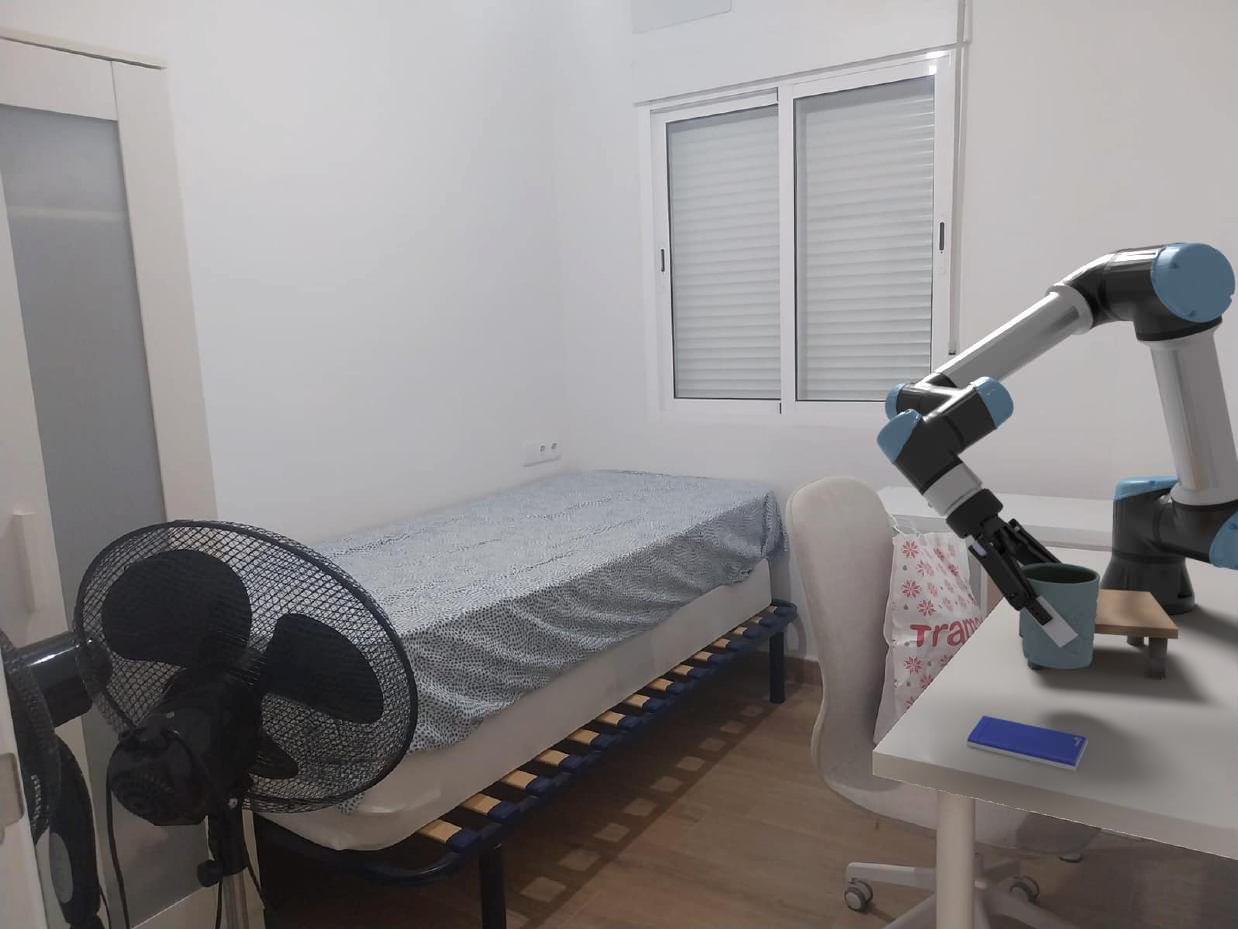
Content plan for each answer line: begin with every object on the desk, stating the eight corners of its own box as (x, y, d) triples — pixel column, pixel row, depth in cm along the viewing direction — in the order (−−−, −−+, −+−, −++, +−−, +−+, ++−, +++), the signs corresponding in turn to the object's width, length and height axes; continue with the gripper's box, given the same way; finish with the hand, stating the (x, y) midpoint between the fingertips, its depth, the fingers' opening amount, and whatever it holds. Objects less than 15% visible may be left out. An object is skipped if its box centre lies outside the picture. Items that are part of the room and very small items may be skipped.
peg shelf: (1146, 639, 147) (1149, 591, 146) (1175, 682, 130) (1178, 629, 129) (1012, 630, 154) (1014, 584, 152) (1023, 670, 137) (1025, 619, 135)
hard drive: (1088, 735, 113) (984, 714, 121) (1075, 762, 107) (966, 737, 114) (1087, 747, 114) (983, 725, 121) (1075, 775, 107) (966, 749, 114)
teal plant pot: (1106, 672, 118) (1110, 584, 116) (1023, 670, 121) (1026, 583, 119) (1083, 644, 128) (1087, 562, 126) (1007, 642, 130) (1009, 561, 128)
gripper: (974, 504, 140) (1082, 621, 132) (913, 535, 123) (1031, 671, 116) (1010, 473, 135) (1124, 592, 128) (952, 500, 119) (1078, 639, 111)
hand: (1080, 630), depth 122 cm, fingers closed on teal plant pot, 10 cm apart
